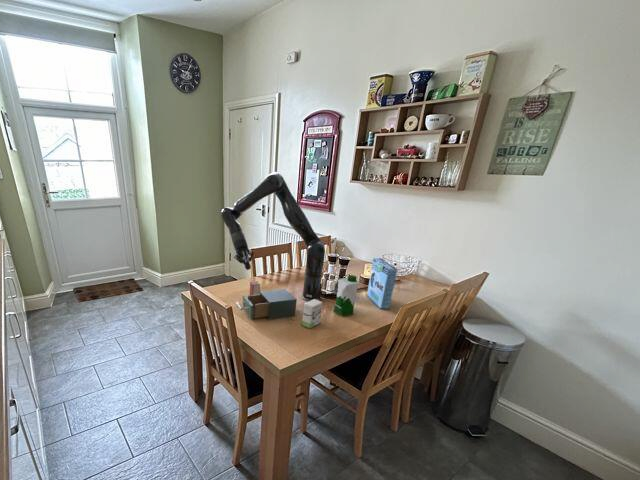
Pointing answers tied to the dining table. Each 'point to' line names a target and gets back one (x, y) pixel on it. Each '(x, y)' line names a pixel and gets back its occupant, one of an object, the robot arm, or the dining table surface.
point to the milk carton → (346, 295)
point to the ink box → (312, 313)
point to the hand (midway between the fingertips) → (248, 269)
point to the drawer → (255, 306)
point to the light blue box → (381, 283)
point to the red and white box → (254, 288)
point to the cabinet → (280, 303)
